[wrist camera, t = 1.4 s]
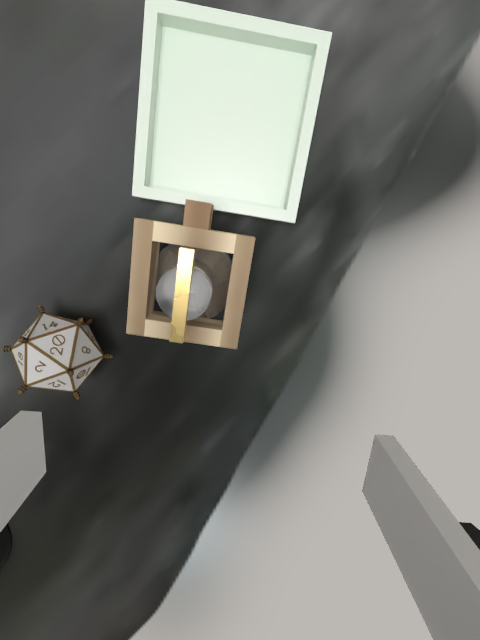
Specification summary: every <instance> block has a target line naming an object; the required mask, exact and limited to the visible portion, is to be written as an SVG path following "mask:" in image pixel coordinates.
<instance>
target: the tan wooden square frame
mask: <svg viewBox="0 0 480 640" xmlns="http://www.w3.org/2000/svg"><path fill="white" fill-rule="evenodd" d="M213 208H214V205H213V204H212V203H206V202H200V201H194V200H188V199H186V201H185V211H184V220H183V225H180V224H174V223H168V222H162V221H155V220H149V219H142V218H134V231H133V245H132V259H131V273H130V287H129V301H128V315H127V329H126V334H133V335H140V336H147V337H154V338H161V339H168V340H170V331H171V321H172V318H171V317H169V316H168V315H167V314H165V313H164V312H160V311H153V310H154V300H155V289H156V278H157V267H158V257H159V246H160V242H163V243H169V244H176V245H182V246H188V247H194V248H201V249H207V250H213V251H219V252H226V253H232V254H233V259H232V265H231V272H230V279H229V285H228V292H227V298H226V305H225V312H224V318H223V321H221V320H214V319H208V318H201V317H197V318H195V319H193V320H188V321H187V325H186V334H185V340H184V342H189V343H196V344H203V345H210V346H217V347H224V348H231V349H237V345H238V339H239V333H240V327H241V321H242V315H243V309H244V303H245V297H246V291H247V285H248V279H249V273H250V267H251V261H252V255H253V249H254V243H255V237H253V236H247V235H241V234H235V233H229V232H223V231H217V230H211V224H212V216H213Z"/></svg>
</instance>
